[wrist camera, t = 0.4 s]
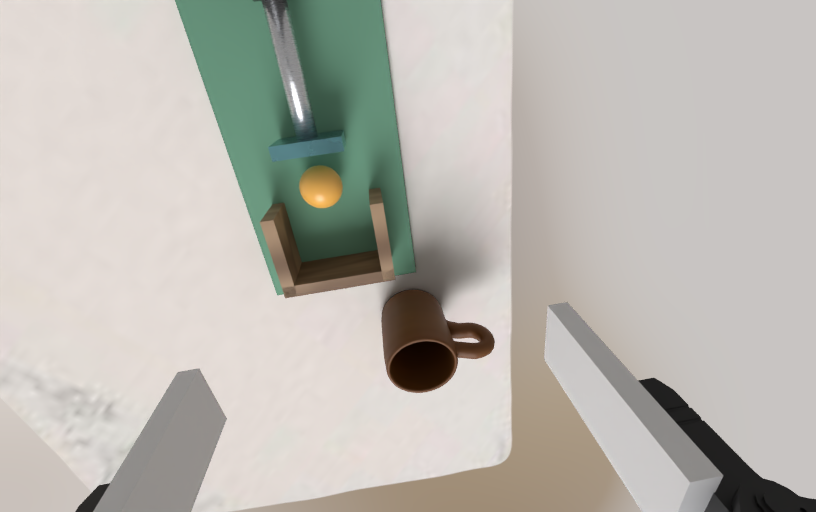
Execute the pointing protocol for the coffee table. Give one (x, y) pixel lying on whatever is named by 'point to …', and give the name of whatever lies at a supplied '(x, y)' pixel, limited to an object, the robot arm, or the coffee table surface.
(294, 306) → the coffee table surface
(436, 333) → the mug
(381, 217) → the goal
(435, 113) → the coffee table surface
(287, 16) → the rod
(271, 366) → the coffee table surface
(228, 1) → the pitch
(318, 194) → the ball
